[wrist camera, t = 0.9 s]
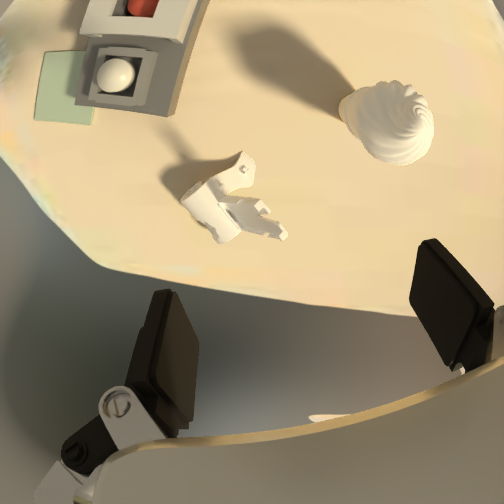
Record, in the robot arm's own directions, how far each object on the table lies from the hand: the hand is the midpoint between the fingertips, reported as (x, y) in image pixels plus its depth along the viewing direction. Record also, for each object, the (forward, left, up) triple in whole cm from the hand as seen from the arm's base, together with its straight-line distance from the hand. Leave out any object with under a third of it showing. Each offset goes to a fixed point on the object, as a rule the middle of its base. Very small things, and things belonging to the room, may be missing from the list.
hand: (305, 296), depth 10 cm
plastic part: (+7, -2, -28) cm, 29 cm away
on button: (-5, -17, -22) cm, 28 cm away
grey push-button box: (-10, -17, -28) cm, 34 cm away
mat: (-3, -27, -28) cm, 39 cm away
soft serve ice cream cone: (-8, +10, -28) cm, 31 cm away
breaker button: (-14, -17, -26) cm, 34 cm away
